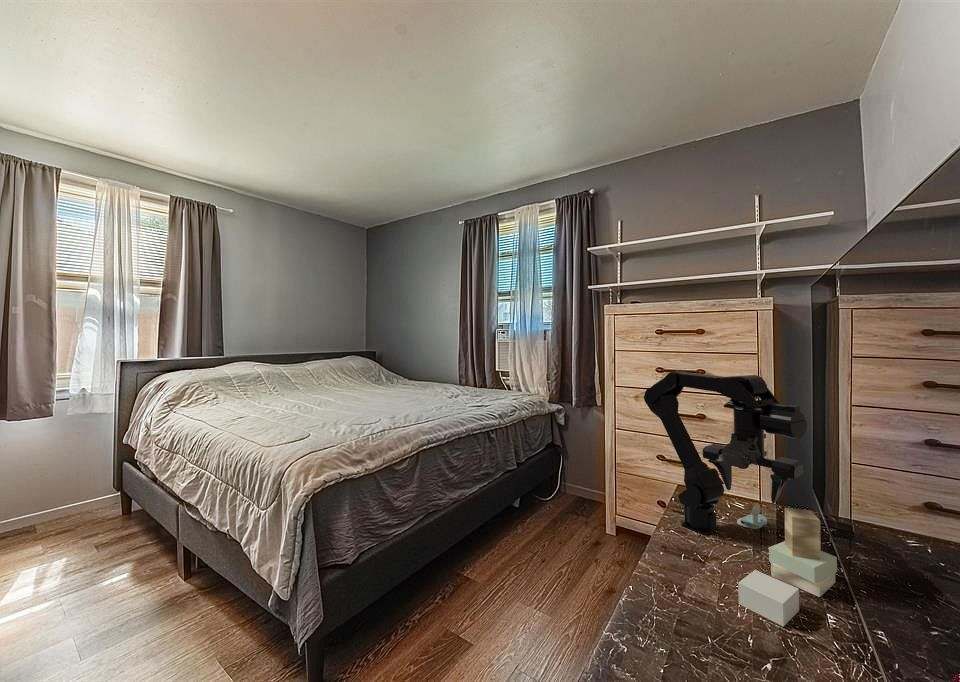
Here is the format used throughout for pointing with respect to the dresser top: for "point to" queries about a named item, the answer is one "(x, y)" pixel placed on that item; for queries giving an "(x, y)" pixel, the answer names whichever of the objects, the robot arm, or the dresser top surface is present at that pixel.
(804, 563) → the sage slab upper
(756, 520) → the pacifier
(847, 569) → the dresser top surface
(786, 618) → the grey stand
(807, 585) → the birch slab lower
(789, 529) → the maple block
